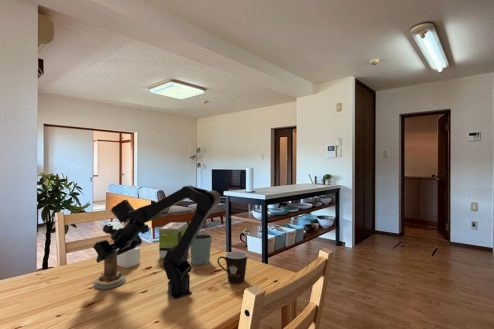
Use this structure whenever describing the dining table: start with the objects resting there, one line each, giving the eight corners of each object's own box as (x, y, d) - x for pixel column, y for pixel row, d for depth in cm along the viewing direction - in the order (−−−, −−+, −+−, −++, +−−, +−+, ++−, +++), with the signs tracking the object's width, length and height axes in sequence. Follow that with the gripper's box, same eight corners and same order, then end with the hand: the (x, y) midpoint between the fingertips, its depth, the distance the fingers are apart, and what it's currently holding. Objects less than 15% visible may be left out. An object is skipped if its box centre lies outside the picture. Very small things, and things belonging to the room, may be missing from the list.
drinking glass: (185, 262, 128) (185, 236, 129) (199, 256, 137) (199, 232, 137) (201, 267, 123) (202, 240, 123) (215, 260, 132) (216, 235, 132)
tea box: (170, 249, 150) (170, 221, 150) (188, 249, 149) (188, 222, 149) (158, 258, 135) (158, 227, 135) (178, 259, 134) (178, 228, 134)
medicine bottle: (140, 263, 127) (140, 237, 127) (125, 268, 121) (126, 241, 121) (130, 260, 131) (130, 235, 131) (116, 265, 125) (116, 238, 125)
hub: (118, 274, 112) (118, 271, 112) (126, 281, 105) (126, 278, 105) (94, 280, 106) (94, 277, 106) (100, 288, 99) (100, 285, 99)
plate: (120, 275, 114) (120, 273, 114) (129, 283, 105) (129, 281, 105) (90, 282, 106) (90, 280, 106) (97, 292, 98) (97, 289, 98)
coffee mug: (251, 280, 109) (251, 254, 109) (236, 287, 103) (236, 260, 103) (231, 272, 117) (231, 248, 117) (215, 278, 111) (215, 253, 111)
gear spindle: (118, 273, 111) (118, 243, 111) (123, 278, 106) (124, 247, 106) (97, 277, 106) (97, 246, 106) (102, 284, 101) (102, 250, 101)
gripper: (136, 211, 113) (115, 236, 117) (97, 219, 96) (74, 248, 100) (152, 232, 111) (130, 256, 114) (114, 244, 93) (90, 273, 97)
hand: (107, 257), depth 106 cm, fingers open, 9 cm apart
